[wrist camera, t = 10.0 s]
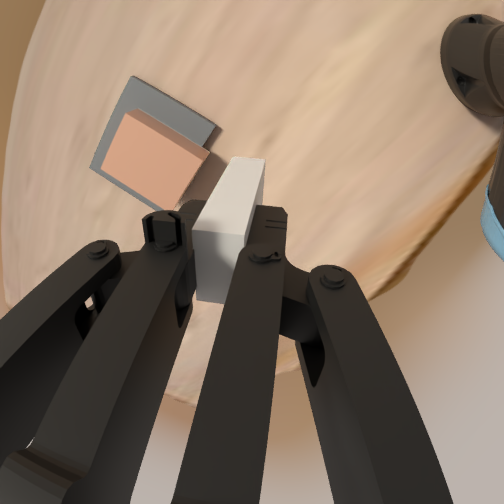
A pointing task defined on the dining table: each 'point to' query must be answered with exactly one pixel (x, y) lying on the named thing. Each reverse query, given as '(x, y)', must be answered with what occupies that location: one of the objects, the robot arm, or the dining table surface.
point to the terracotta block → (153, 159)
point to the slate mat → (159, 108)
